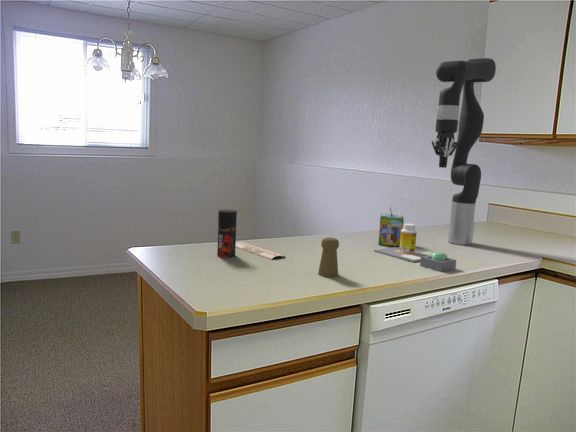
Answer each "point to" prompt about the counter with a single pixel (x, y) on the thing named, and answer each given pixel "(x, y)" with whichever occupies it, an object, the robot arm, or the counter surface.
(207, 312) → the counter surface
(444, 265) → the button housing
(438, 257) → the button
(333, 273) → the cork
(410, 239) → the supplement bottle
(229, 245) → the deodorant
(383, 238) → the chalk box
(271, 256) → the newspaper
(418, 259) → the sheet board
